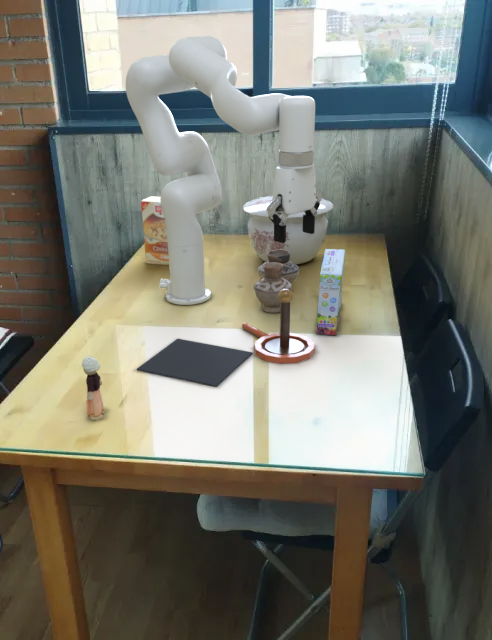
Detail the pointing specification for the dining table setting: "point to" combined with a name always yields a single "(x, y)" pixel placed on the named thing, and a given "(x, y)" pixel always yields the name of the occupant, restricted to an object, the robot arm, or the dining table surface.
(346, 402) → the dining table surface
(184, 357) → the mat
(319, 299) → the snack box
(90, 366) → the grandmother figurine
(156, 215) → the coffeecake box
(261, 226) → the chamber pot
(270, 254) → the pottery
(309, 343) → the orange ring with handle
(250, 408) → the dining table surface
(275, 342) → the coat peg
